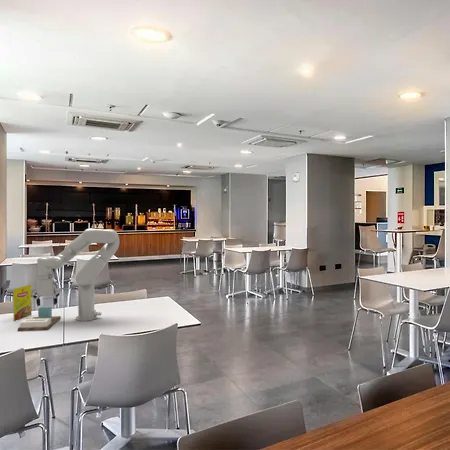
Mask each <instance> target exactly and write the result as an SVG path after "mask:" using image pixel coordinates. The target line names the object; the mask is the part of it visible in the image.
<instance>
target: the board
mask: <svg viewBox="0 0 450 450" xmlns="http://www.w3.org/2000/svg"><path fill="white" fill-rule="evenodd" d="M32 318H38V316H33V317H32ZM61 319H62V316H61V315H59V316H58V315H55V316H54V315H52V317H51V324H49V325H48V326H47V327H31V328H20V326H19V327H18V328H17V332H26V331H28V332H31V331H32V332H34V331H49V330H50V329H51V328H52V327H53V326H54V325H56V324H57V323H58V322H59V321H60V320H61Z"/></svg>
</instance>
